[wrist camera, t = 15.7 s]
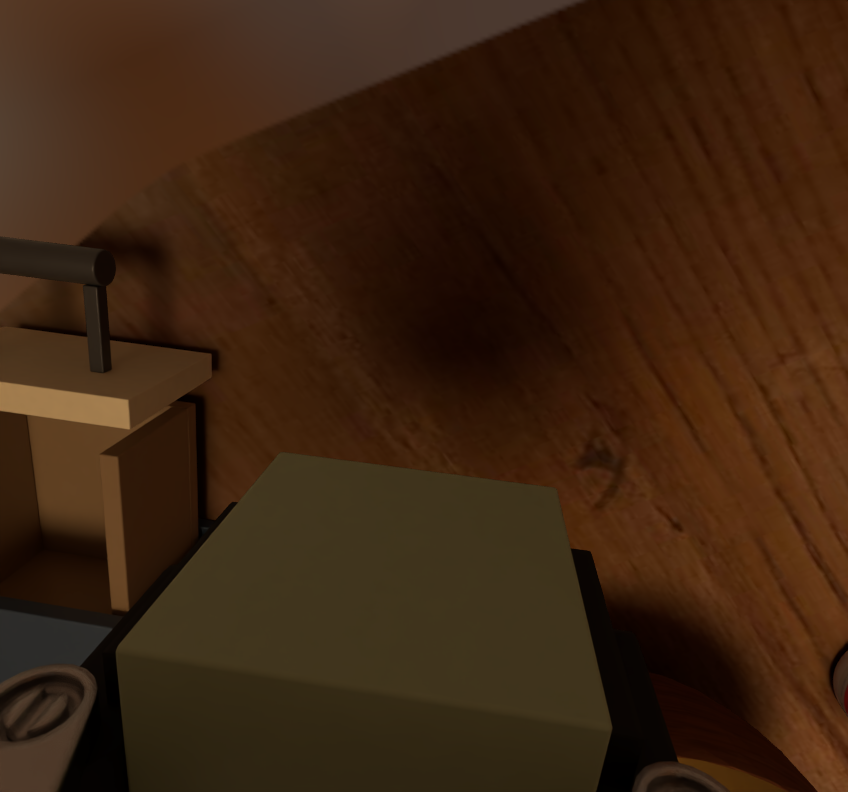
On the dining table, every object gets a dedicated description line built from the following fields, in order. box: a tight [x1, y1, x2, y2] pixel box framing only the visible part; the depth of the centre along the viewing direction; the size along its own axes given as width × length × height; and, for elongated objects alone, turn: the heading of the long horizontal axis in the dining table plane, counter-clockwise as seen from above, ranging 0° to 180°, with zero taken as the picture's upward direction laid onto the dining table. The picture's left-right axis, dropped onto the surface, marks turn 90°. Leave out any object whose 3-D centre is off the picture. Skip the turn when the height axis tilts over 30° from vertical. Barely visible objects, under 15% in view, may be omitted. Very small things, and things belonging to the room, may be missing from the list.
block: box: [116, 452, 612, 792], centre depth 9 cm, size 5×5×5 cm
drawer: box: [0, 237, 212, 616], centre depth 26 cm, size 17×10×7 cm, turn 174°
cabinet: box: [0, 518, 215, 684], centre depth 30 cm, size 14×12×9 cm
